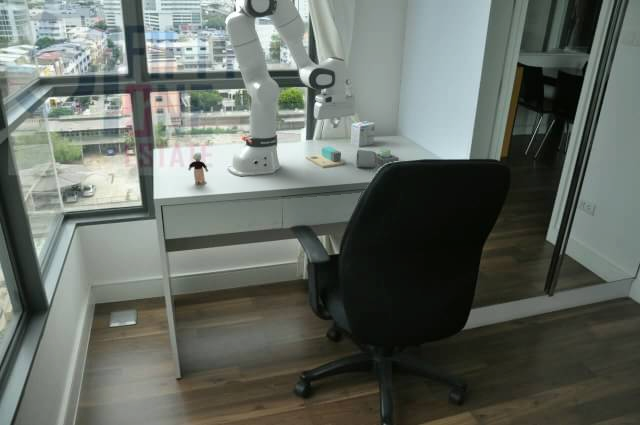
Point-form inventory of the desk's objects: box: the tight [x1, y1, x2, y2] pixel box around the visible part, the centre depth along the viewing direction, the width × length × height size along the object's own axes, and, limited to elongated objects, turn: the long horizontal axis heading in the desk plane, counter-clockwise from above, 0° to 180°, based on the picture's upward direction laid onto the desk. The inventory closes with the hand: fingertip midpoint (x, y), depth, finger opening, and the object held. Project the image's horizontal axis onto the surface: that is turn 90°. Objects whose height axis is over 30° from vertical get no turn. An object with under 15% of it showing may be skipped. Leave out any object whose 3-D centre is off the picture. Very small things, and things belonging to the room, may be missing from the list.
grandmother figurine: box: [187, 151, 209, 186], centre depth 196 cm, size 8×4×13 cm, turn 99°
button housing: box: [376, 152, 400, 167], centre depth 229 cm, size 9×9×3 cm
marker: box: [321, 145, 342, 162], centre depth 229 cm, size 10×4×4 cm, turn 31°
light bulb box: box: [350, 120, 376, 148], centre depth 254 cm, size 11×7×11 cm, turn 130°
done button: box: [379, 148, 392, 159], centre depth 228 cm, size 5×5×4 cm
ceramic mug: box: [355, 149, 377, 169], centre depth 223 cm, size 11×8×8 cm
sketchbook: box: [305, 153, 345, 169], centre depth 228 cm, size 11×15×1 cm
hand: (334, 127), depth 224 cm, fingers closed
